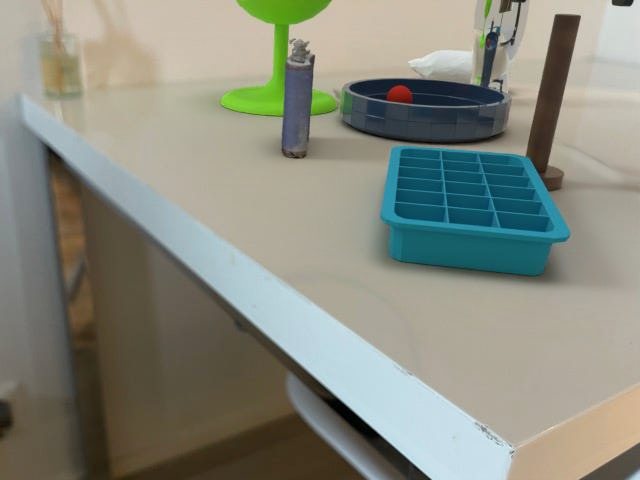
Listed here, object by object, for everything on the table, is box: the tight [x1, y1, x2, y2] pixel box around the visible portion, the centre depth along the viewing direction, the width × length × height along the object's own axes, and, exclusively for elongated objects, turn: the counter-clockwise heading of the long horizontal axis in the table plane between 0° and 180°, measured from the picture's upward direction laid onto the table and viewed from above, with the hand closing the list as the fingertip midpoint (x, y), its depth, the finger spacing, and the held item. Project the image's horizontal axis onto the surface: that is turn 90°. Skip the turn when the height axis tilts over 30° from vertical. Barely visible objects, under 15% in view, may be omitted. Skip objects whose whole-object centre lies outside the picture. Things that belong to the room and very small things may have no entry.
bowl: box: [339, 77, 513, 144], centre depth 80 cm, size 20×20×4 cm
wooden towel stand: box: [525, 13, 582, 192], centre depth 57 cm, size 5×5×14 cm
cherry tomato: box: [387, 86, 412, 104], centre depth 84 cm, size 3×3×3 cm
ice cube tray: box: [379, 145, 572, 277], centre depth 50 cm, size 12×20×3 cm, turn 167°
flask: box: [281, 37, 316, 159], centre depth 68 cm, size 9×3×11 cm, turn 173°
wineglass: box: [220, 0, 338, 117], centre depth 87 cm, size 16×16×18 cm
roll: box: [407, 49, 472, 83], centre depth 105 cm, size 6×12×6 cm, turn 74°
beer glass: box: [469, 0, 531, 94], centre depth 92 cm, size 7×7×15 cm
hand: (569, 4), depth 54 cm, fingers open, 8 cm apart
